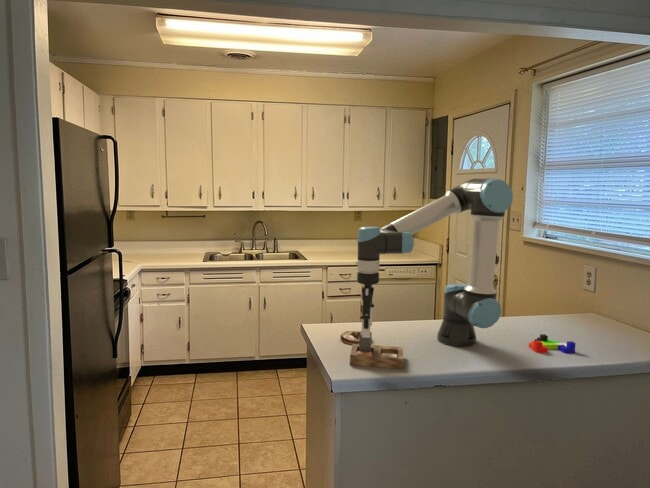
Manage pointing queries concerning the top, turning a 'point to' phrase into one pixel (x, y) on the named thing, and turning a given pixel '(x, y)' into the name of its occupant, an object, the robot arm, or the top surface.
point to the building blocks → (551, 345)
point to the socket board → (378, 356)
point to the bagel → (351, 337)
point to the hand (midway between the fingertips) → (367, 331)
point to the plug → (365, 343)
